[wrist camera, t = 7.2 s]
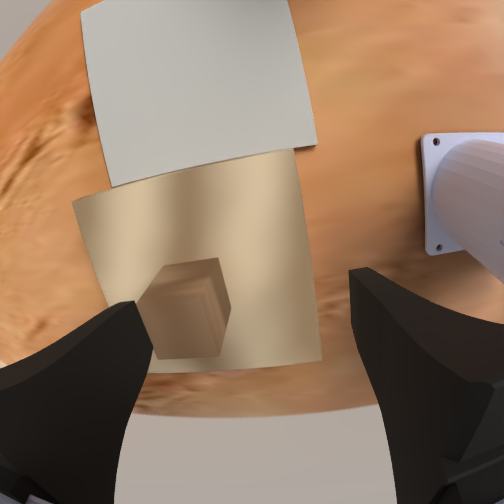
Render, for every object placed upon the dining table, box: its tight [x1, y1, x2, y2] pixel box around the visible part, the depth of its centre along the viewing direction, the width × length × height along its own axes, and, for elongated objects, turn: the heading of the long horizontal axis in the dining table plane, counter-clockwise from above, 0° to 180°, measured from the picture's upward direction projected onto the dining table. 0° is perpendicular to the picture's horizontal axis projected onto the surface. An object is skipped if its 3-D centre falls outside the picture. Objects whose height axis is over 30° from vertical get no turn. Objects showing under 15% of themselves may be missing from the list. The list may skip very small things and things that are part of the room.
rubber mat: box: [81, 0, 318, 187], centre depth 16 cm, size 13×13×1 cm
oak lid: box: [72, 148, 322, 373], centre depth 16 cm, size 12×12×5 cm
